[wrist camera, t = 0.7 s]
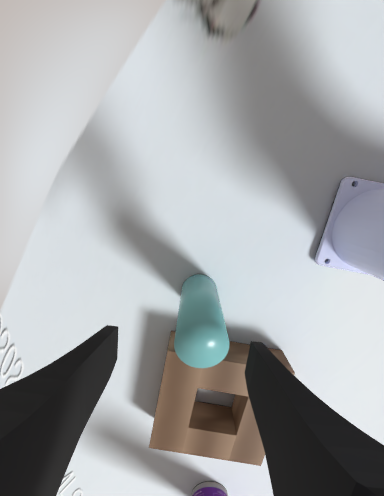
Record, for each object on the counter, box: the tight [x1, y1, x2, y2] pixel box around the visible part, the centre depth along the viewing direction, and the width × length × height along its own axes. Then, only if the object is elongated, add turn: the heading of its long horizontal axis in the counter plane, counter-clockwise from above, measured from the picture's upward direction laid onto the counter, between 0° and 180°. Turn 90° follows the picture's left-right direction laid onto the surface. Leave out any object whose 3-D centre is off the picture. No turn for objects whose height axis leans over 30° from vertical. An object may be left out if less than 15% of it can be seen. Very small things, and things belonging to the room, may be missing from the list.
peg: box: [174, 274, 229, 368], centre depth 17 cm, size 4×4×8 cm
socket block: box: [149, 331, 295, 466], centre depth 22 cm, size 12×12×3 cm
